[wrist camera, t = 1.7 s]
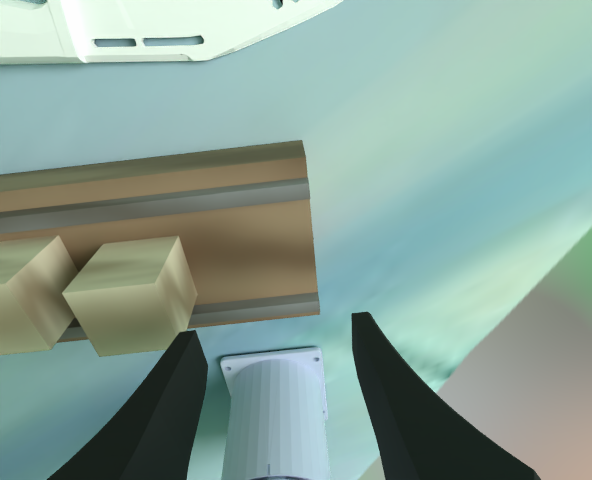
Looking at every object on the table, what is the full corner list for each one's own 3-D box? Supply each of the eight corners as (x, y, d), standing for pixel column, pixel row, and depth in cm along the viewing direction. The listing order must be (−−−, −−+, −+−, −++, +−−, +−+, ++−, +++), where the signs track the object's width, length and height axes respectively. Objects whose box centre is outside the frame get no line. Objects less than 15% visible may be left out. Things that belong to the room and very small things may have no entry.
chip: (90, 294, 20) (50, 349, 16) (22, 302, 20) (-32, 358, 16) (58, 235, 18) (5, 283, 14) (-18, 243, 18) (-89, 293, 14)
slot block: (315, 284, 24) (321, 323, 21) (4, 317, 24) (-39, 362, 21) (302, 140, 19) (306, 162, 15) (-93, 185, 19) (-170, 216, 16)
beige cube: (197, 294, 20) (180, 348, 17) (130, 301, 20) (99, 356, 17) (178, 235, 18) (154, 282, 14) (103, 243, 18) (61, 293, 15)
